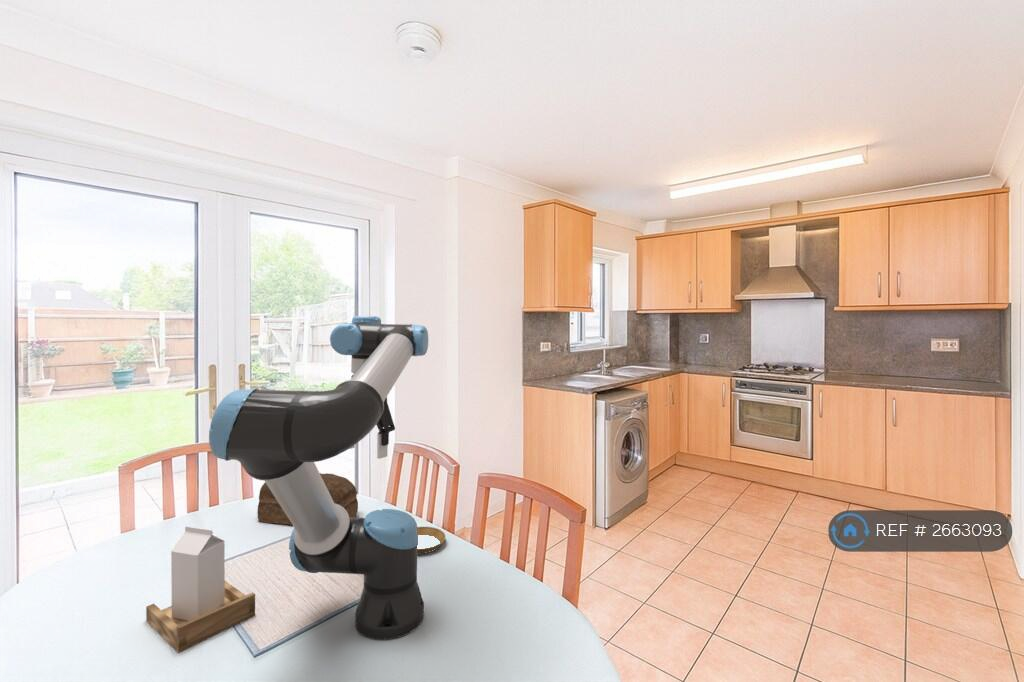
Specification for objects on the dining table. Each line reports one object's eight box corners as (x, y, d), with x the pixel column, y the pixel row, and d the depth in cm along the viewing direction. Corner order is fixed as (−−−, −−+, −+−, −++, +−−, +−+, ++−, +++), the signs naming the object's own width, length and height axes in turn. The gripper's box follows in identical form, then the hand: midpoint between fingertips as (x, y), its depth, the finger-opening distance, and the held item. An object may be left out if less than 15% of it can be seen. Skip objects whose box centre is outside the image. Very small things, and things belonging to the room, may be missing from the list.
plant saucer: (453, 549, 140) (453, 541, 140) (406, 562, 131) (406, 553, 131) (432, 530, 152) (433, 522, 152) (388, 541, 144) (388, 533, 144)
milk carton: (197, 623, 101) (197, 537, 101) (171, 618, 103) (170, 533, 102) (224, 604, 108) (224, 523, 108) (199, 599, 110) (199, 520, 109)
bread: (339, 533, 149) (340, 483, 148) (251, 522, 155) (251, 475, 154) (362, 514, 163) (363, 469, 162) (281, 506, 169) (281, 462, 168)
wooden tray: (255, 615, 106) (255, 593, 106) (178, 652, 94) (178, 628, 94) (219, 589, 116) (219, 570, 116) (146, 620, 104) (146, 598, 103)
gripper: (409, 376, 121) (408, 458, 122) (349, 369, 135) (348, 442, 136) (386, 379, 115) (385, 464, 116) (325, 371, 129) (325, 447, 130)
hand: (365, 453), depth 126 cm, fingers open, 13 cm apart
